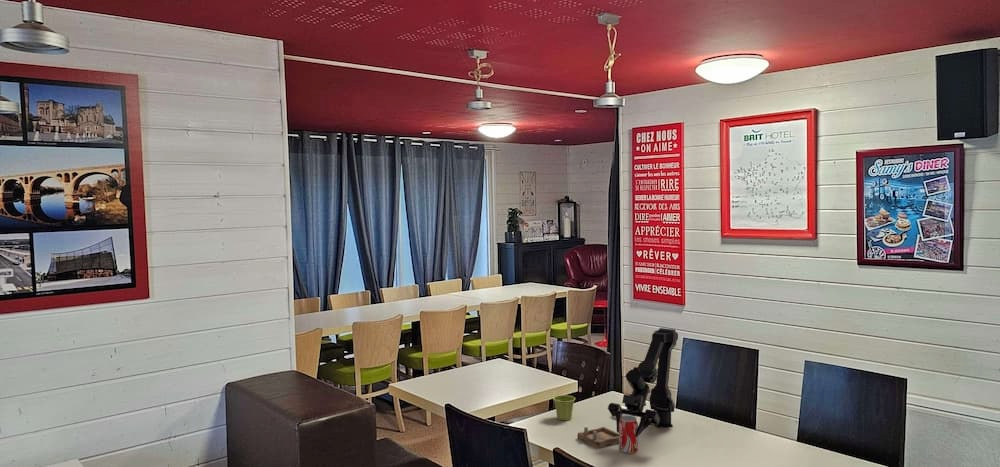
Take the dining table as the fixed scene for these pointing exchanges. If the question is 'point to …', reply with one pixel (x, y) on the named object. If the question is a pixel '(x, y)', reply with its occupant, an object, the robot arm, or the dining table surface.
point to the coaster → (625, 414)
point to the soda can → (628, 434)
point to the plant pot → (564, 406)
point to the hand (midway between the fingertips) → (626, 434)
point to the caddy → (599, 437)
